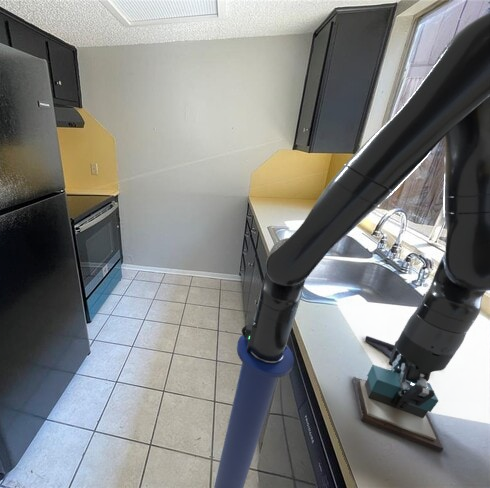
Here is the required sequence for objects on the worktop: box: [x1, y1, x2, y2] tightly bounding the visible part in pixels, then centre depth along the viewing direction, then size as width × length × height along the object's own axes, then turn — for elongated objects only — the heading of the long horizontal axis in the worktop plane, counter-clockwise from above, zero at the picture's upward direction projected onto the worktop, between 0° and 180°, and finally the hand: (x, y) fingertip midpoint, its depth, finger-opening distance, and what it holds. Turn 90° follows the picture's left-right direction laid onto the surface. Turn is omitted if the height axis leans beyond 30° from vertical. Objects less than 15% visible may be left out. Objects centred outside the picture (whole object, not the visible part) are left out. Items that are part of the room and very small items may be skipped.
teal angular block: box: [365, 364, 439, 418], centre depth 56 cm, size 10×4×6 cm, turn 64°
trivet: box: [351, 376, 445, 453], centre depth 56 cm, size 13×11×2 cm
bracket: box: [364, 335, 397, 360], centre depth 67 cm, size 14×15×3 cm
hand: (393, 396), depth 57 cm, fingers closed on teal angular block, 4 cm apart
